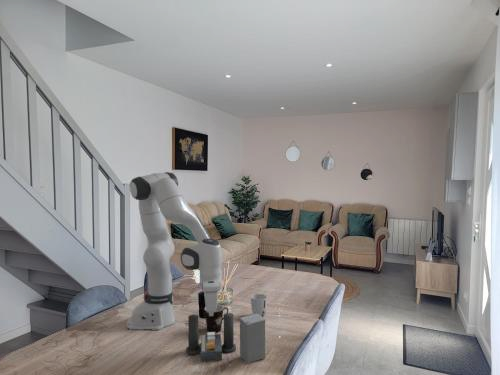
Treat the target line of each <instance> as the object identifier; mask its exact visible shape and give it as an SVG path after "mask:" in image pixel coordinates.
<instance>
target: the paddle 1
mask: <svg viewBox="0 0 500 375" xmlns="http://www.w3.org/2000/svg"><path fill="white" fill-rule="evenodd" d="M215 334H216V333H215V332H208V331H207V334H206V335H207V337H214V336H215Z"/></svg>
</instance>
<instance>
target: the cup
mask: <svg viewBox="0 0 500 375" xmlns="http://www.w3.org/2000/svg"><path fill="white" fill-rule="evenodd" d="M267 304H268V296H267V295H266V294H264V293H255V294H251V295H250V306H251V310H252V311H251V312H252V315H253V314H257V313H258V314H259V315H260V316H261V317H263V318H264V317H265V316H266V315H265V314H266V312H267Z"/></svg>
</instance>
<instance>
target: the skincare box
mask: <svg viewBox="0 0 500 375" xmlns="http://www.w3.org/2000/svg"><path fill="white" fill-rule="evenodd" d="M239 356H240V358H241V359H243V361H244V362H245V363H246V364H251V363H254V362H257V361H260V360H262V359H265V358H266V319H265V318H264V317H261V316H260V315H259V314H258V313H257V314H253V313H252V314H249V315H245V316H242V317H240V318H239Z"/></svg>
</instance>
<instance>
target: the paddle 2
mask: <svg viewBox="0 0 500 375" xmlns="http://www.w3.org/2000/svg"><path fill="white" fill-rule="evenodd" d="M206 346H207V350H208V349H212V348H215V343H214V341H211V342H207V343H206Z"/></svg>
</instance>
